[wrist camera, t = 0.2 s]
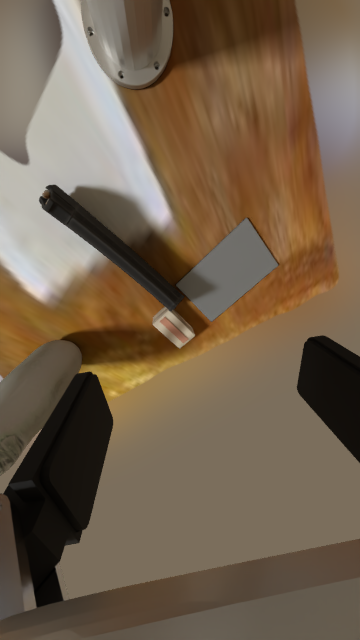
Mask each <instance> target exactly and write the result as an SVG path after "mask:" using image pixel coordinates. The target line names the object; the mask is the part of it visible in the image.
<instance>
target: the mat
mask: <svg viewBox="0 0 360 640" xmlns="http://www.w3.org/2000/svg"><path fill="white" fill-rule="evenodd" d="M277 266H278V264H277V262H276V261H275V259H274V258H273V256H272V255H271V253H270V252H269V250H268V249H267V247H266V246H265V244H264V243H263V241H262V240H261V238H260V237H259V235H258V234H257V232H256V231H255V229H254V228H253V226H252V225H251V223H250V222H249V220H248V219H247V218H245V219H244V220H243V221H242V222H241V223H240V224H239V225H238V226H237V227H236V228H235V229H234V230H233V231H232V232H231V233H230V234H228V235H227V236H226V237H225V238H224V239H223V240H222V241H221V242H220V243H219V244H218V245H217V246H216V247H215V248H214V249H213V250H212V251H211V252H210V253H208V254H207V255H206V256H205V257H204V258H203V259H202V260H201V261H200V262H199V263H198V264H197V265H196V266H195V267H194V268H193V269H192V270H191V271H190V272H189V273H187V274H186V275H185V276H184V277H183V278H182V279H181V280H180V281H179V282H178V283H177V284H176V286H177V287H178V288H179V289H180V290H181V291H182V292H183V293H184V294H185V295H186V296H187V297H188V298H189V299H190V300H191V301H192V302H193V303H194V304H195V306H196V307H197V308H198V309H199V310H200V311H201V312H202V313H203V314H204V315H205V316H206V317H207V318H208V319H209V320H210V321H211V322H212V321H213V320H214V319H216V318H217V317H218V316H219V315H220V314H221V313H223V312H224V311H225V310H226V309H227V308H229V307H230V306H231V305H232V304H233V303H234V302H236V301H237V300H238V299H239V298H240V297H241V296H243V295H244V294H245V293H246V292H247V291H249V290H250V289H251V288H252V287H253V286H254V285H256V284H257V283H258V282H259V281H260V280H262V279H263V278H264V277H265V276H266V275H267V274H269V273H270V272H271V271H272V270H273V269H275V268H276V267H277Z"/></svg>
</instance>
